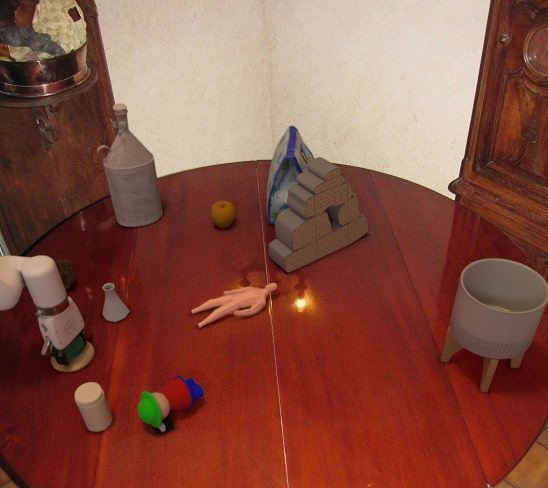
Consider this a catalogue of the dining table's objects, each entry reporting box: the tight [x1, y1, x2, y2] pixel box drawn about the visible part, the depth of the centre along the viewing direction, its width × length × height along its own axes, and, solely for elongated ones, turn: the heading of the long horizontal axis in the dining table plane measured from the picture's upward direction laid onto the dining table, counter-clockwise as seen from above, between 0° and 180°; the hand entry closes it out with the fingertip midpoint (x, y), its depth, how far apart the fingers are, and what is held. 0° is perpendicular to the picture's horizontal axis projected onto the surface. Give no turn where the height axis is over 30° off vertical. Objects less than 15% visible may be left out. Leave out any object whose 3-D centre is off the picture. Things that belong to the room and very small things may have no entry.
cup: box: [54, 258, 75, 291], centre depth 165 cm, size 8×7×8 cm
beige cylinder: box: [74, 381, 114, 433], centre depth 127 cm, size 6×6×10 cm
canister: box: [96, 103, 164, 228], centre depth 182 cm, size 13×17×40 cm
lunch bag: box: [266, 125, 315, 225], centre depth 188 cm, size 22×17×26 cm
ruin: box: [267, 156, 370, 273], centre depth 169 cm, size 34×10×30 cm, turn 125°
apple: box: [210, 200, 237, 229], centre depth 187 cm, size 9×8×9 cm
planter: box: [440, 257, 548, 393], centre depth 132 cm, size 19×19×26 cm
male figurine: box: [191, 282, 278, 329], centre depth 157 cm, size 11×5×25 cm
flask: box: [102, 282, 131, 323], centre depth 155 cm, size 7×7×10 cm
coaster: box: [50, 340, 95, 373], centre depth 146 cm, size 11×11×1 cm
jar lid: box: [55, 335, 85, 359], centre depth 144 cm, size 7×7×2 cm
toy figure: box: [137, 375, 204, 437], centre depth 129 cm, size 9×10×15 cm
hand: (72, 353), depth 146 cm, fingers closed on jar lid, 7 cm apart
